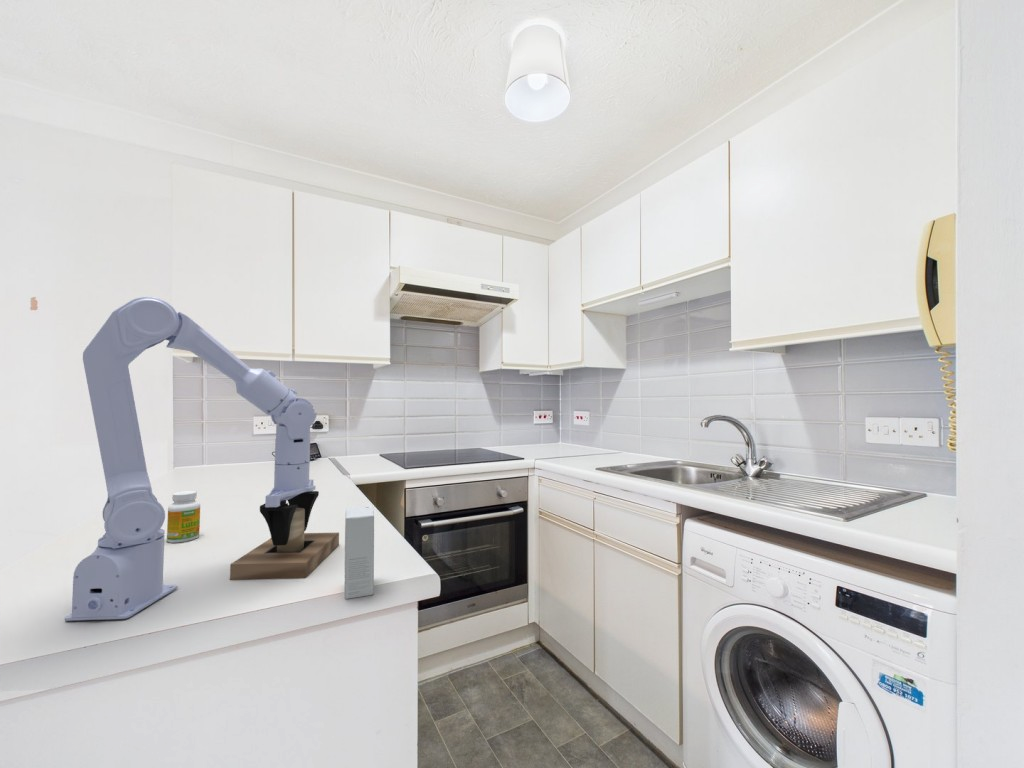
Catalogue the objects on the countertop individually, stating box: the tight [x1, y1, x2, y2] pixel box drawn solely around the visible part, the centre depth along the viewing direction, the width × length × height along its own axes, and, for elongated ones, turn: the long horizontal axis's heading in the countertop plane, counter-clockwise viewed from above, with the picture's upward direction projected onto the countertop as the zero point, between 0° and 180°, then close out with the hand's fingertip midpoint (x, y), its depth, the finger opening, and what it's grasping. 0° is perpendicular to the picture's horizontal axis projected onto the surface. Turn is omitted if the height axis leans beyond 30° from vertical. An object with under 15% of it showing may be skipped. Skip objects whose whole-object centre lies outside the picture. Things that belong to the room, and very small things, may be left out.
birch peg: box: [277, 508, 305, 553], centre depth 76 cm, size 4×4×9 cm
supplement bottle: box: [166, 490, 201, 544], centre depth 88 cm, size 5×5×10 cm
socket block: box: [229, 532, 340, 581], centre depth 76 cm, size 16×12×2 cm
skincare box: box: [344, 505, 375, 600], centre depth 65 cm, size 6×4×12 cm
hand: (290, 537), depth 76 cm, fingers open, 7 cm apart
